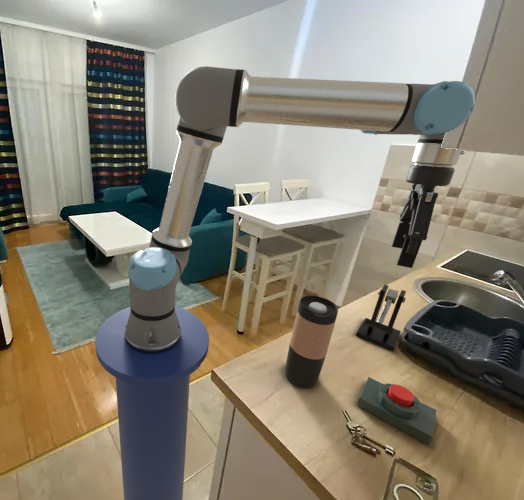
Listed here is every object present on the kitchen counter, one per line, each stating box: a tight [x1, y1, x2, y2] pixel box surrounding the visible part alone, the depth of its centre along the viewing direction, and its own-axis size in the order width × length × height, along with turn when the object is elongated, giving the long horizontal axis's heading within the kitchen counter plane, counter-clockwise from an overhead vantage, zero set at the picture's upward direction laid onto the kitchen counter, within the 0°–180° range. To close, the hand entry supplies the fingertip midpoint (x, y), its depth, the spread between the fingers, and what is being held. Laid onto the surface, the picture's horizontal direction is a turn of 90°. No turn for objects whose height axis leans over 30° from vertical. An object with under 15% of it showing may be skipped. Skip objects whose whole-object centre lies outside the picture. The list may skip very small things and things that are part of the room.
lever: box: [364, 288, 400, 334], centre depth 76 cm, size 13×6×2 cm, turn 136°
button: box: [388, 384, 415, 407], centre depth 59 cm, size 4×4×2 cm
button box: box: [356, 376, 437, 445], centre depth 60 cm, size 12×8×4 cm, turn 46°
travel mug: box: [284, 295, 339, 389], centre depth 65 cm, size 8×8×20 cm
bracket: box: [355, 284, 407, 352], centre depth 81 cm, size 10×9×15 cm
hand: (400, 256), depth 70 cm, fingers open, 13 cm apart
